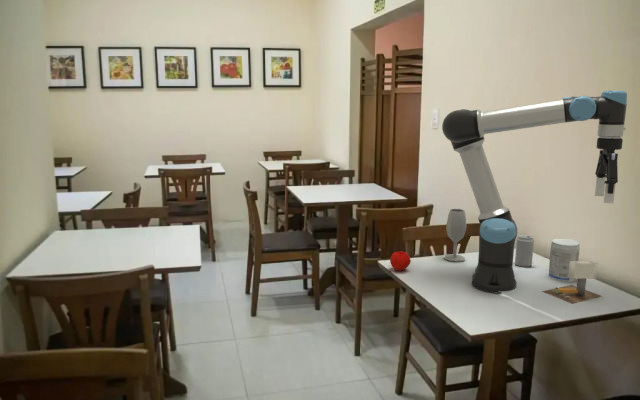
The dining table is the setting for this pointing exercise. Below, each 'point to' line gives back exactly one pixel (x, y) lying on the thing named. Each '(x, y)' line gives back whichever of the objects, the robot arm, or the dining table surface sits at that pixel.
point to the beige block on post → (580, 275)
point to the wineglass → (456, 231)
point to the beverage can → (524, 250)
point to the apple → (400, 260)
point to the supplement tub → (562, 258)
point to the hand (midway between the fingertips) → (603, 199)
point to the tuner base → (571, 295)
